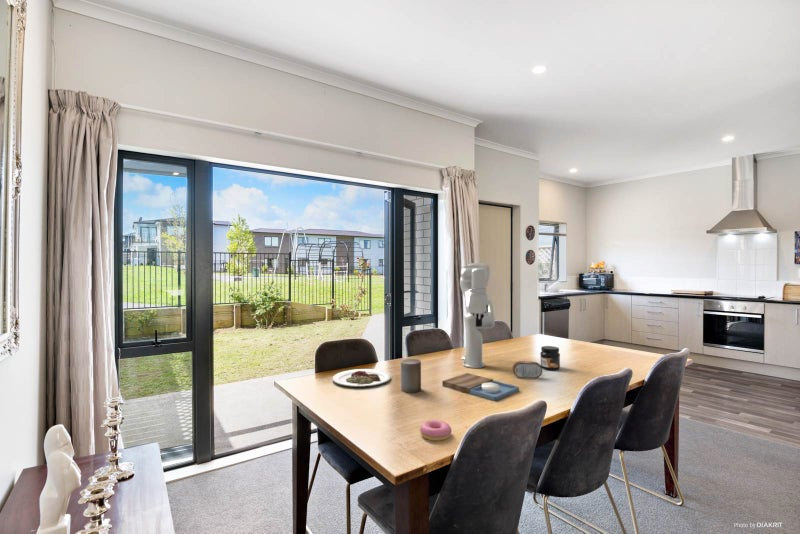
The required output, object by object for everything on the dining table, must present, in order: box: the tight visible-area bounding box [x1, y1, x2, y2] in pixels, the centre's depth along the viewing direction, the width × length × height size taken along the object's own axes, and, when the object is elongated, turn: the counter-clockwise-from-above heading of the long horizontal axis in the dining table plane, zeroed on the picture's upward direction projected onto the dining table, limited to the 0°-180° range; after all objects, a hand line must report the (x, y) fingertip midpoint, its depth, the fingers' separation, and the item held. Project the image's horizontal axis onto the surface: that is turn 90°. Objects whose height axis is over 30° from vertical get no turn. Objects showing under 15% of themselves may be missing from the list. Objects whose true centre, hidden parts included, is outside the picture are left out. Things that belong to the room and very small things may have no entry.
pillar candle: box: [400, 358, 422, 394], centre depth 186 cm, size 10×10×15 cm
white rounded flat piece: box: [482, 383, 499, 393], centre depth 182 cm, size 8×8×2 cm
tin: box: [512, 360, 543, 379], centre depth 205 cm, size 15×3×8 cm, turn 84°
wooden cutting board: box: [441, 372, 494, 395], centre depth 192 cm, size 16×20×2 cm
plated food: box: [332, 368, 391, 388], centre depth 202 cm, size 30×30×3 cm
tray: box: [469, 380, 520, 402], centre depth 181 cm, size 14×20×2 cm
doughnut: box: [419, 419, 452, 442], centre depth 136 cm, size 11×11×4 cm
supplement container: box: [539, 345, 561, 372], centre depth 223 cm, size 10×10×12 cm
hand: (478, 326), depth 205 cm, fingers closed
